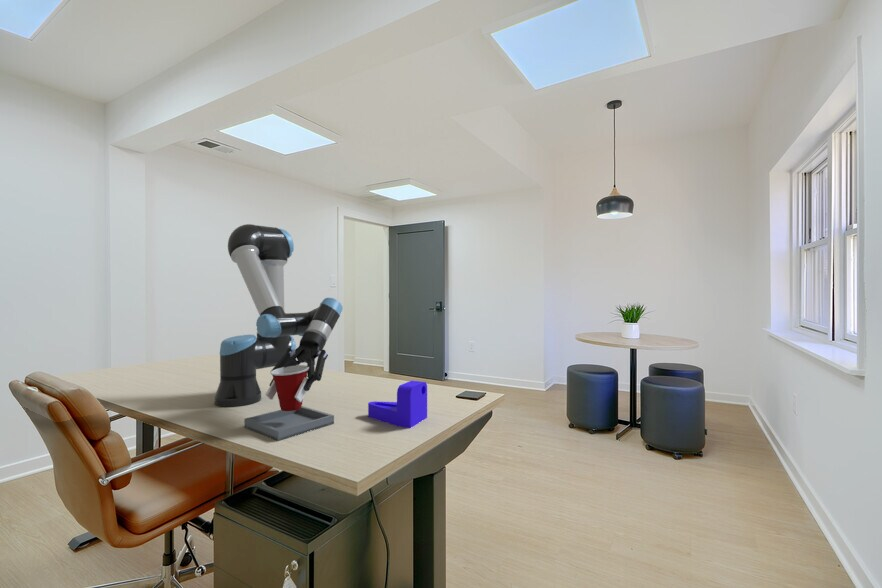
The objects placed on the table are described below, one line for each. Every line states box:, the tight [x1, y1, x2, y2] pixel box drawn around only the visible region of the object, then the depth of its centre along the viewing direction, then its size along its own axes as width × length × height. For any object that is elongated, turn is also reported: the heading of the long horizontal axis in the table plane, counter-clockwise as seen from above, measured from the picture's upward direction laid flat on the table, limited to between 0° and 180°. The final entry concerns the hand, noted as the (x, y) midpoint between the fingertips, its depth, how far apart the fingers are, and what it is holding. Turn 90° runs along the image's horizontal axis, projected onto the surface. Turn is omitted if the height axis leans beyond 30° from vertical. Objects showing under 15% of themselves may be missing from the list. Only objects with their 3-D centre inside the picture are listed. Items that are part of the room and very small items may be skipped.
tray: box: [243, 405, 335, 442], centre depth 121 cm, size 18×18×2 cm
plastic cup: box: [269, 364, 309, 411], centre depth 120 cm, size 11×11×12 cm
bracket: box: [367, 380, 428, 429], centre depth 127 cm, size 18×11×12 cm, turn 66°
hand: (283, 398), depth 117 cm, fingers closed on plastic cup, 9 cm apart
